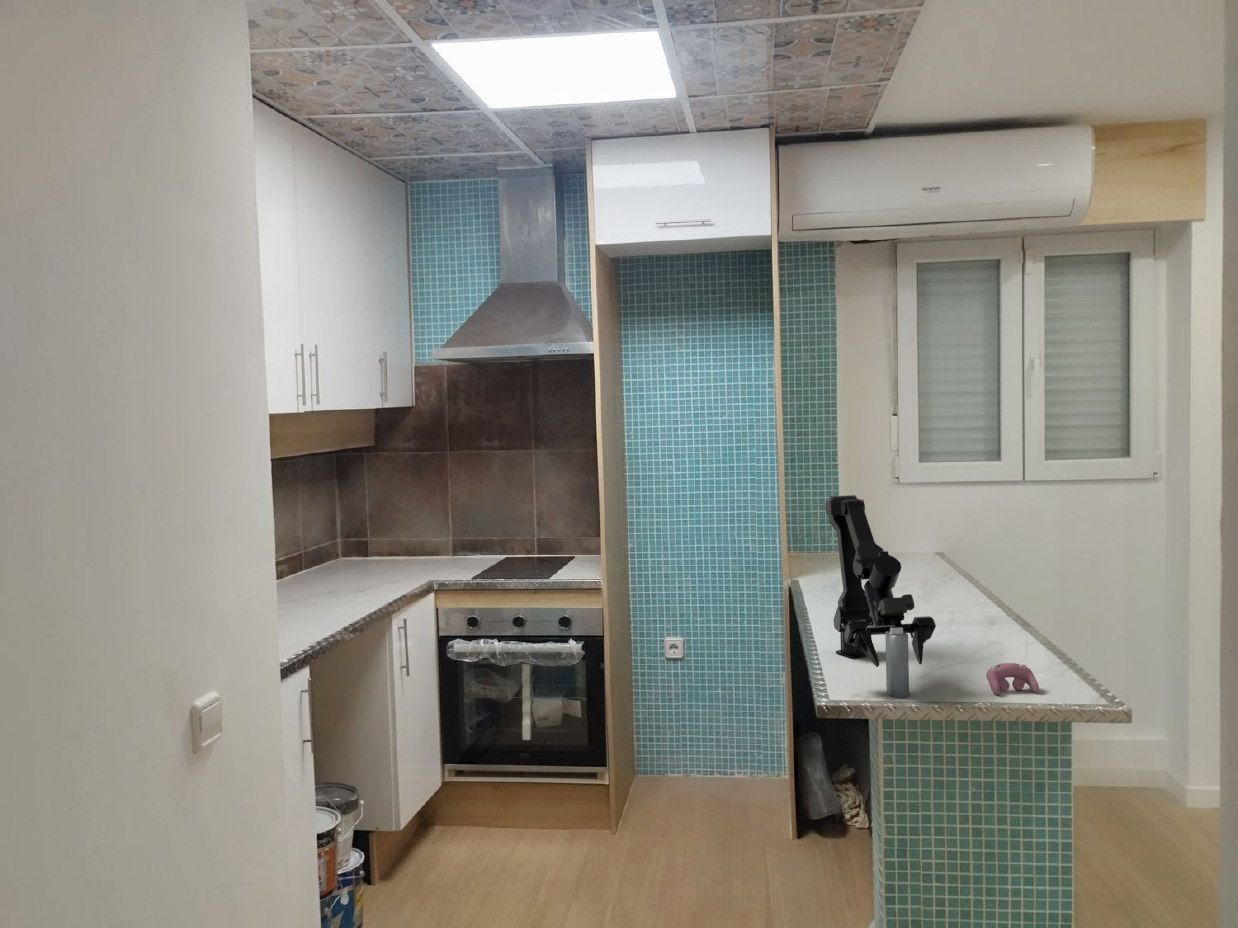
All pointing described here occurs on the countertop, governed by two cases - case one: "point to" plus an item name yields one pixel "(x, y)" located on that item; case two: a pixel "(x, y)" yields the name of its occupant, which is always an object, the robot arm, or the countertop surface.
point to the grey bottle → (897, 663)
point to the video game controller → (1017, 671)
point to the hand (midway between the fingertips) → (899, 664)
